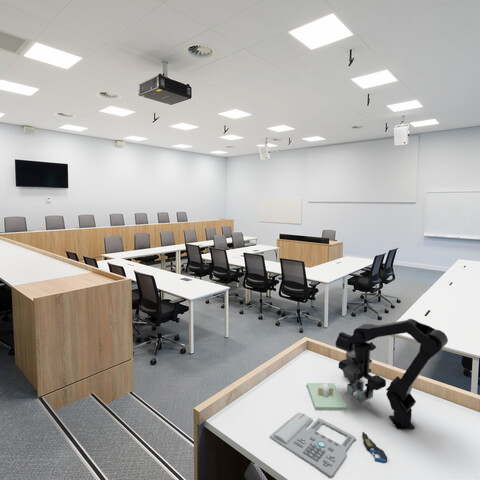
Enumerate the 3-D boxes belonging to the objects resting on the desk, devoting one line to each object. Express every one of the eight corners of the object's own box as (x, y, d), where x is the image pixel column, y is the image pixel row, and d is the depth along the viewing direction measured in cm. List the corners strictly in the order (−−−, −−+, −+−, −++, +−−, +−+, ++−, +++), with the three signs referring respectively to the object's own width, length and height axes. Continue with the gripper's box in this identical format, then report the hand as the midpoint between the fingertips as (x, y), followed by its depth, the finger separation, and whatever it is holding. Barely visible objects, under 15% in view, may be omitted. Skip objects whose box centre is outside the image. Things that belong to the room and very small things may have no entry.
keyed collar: (372, 397, 127) (373, 388, 127) (360, 403, 124) (361, 393, 123) (358, 388, 133) (359, 379, 133) (346, 393, 130) (347, 384, 129)
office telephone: (269, 432, 109) (300, 405, 124) (269, 439, 110) (300, 411, 124) (331, 472, 94) (359, 435, 108) (331, 480, 94) (359, 442, 108)
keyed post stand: (346, 410, 124) (346, 397, 123) (315, 409, 124) (315, 397, 123) (334, 385, 140) (334, 374, 139) (306, 385, 140) (307, 374, 139)
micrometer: (388, 459, 99) (372, 458, 99) (388, 464, 100) (372, 464, 100) (374, 430, 111) (359, 430, 111) (373, 435, 111) (359, 435, 111)
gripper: (329, 351, 130) (328, 386, 132) (368, 373, 114) (365, 413, 116) (348, 345, 136) (346, 379, 138) (388, 365, 120) (385, 403, 122)
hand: (359, 392), depth 128 cm, fingers closed on keyed collar, 7 cm apart
